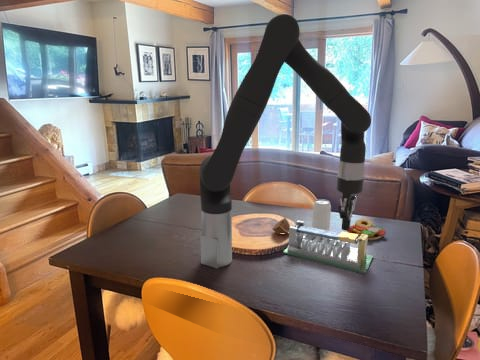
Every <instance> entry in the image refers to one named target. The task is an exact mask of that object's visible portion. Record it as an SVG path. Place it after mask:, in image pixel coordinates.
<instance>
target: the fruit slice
mask: <svg viewBox="0 0 480 360" xmlns="http://www.w3.org/2000/svg"><path fill="white" fill-rule="evenodd" d="M290 227H291V224H290V222H289V220H288V219H287V218H286V217H284V218H282V219H281V220H279V221H277V222H276V223H275V224H274V225H273V227H271V228H272V231H273V232H275V233H276V232H278V233H288V232H289V228H290ZM278 233H277V234H278ZM288 234H289V233H288Z"/></svg>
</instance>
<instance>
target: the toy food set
mask: <svg viewBox="0 0 480 360" xmlns="http://www.w3.org/2000/svg"><path fill="white" fill-rule="evenodd" d="M346 232H348V233H353V234H358V236H359V237H360V236H361V234H366V235H368V241H375V240H379V239H381V238H383V237H384V236H385V235H386V234H387V232H386V230H385V229H383V227H382V226H380V225H375V226H374V224H373V222H372V221H370V220H369V219H364V218H360V219H357V220H356V221H355V223H354V224H350V229H349V230H348V231H346Z"/></svg>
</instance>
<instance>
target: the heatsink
mask: <svg viewBox="0 0 480 360" xmlns="http://www.w3.org/2000/svg"><path fill="white" fill-rule="evenodd" d="M297 224H301V226H305V221H302V220H297V221H296V223H295V226H296V225H297ZM368 241H369V240H368V235H366V234H361V236H360V237H359V240H358V243H357V245H358V246H357V247H353V246H351V243H349V242H344V243H343V241H339V240H334V239H329V240H328V238H324V237H319V236H314V235H308V234H303V233H298V228H296V227H294V226H291V225H290V228H289V233H288V245H287V248H286V249H284V250H283V253H282V254H285V255H289V256H292V257H297V258H300V259H304V260H309V261H312V262H315V263H318V264H319V263H320V264H324V265H328V266H332V267H336V268H338V269H343V270H347V271H351V272H354V273H359V274H363V275H366V273H367V272H368V269H369V267H370V265H371V263H372V261H373V259H372V258H374V255H371V254H367V250H368Z"/></svg>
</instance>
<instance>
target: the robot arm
mask: <svg viewBox="0 0 480 360" xmlns="http://www.w3.org/2000/svg"><path fill="white" fill-rule="evenodd" d="M300 31H301V30H300V26H299V23H298V21H297V19H296V18H295V17H294V16H293V15H291V14H288V13H281V14H277V15H276V16H274V17H272V18H271V19H270V20H269V21H268V22H267V24H266V27H265V30H264V33H263V37H262V40H261V42H260V45H259V48H258V51H257V54H256V56H255V59H254V61H253V62H252V64H251V66H250V68H249V69H248V71H247V72H246V74H245V76H244V77H243V79H242V81H241V82H240V84H239V86H238V88H237V90H236V92H235V94H234V96H233V98H232V100H231V103H230V105H229V107H228V111H227V113H226V115H225V120H224V122H223V127H222V132H221V135H220V138H219V139H218V140H219V141H218V143H217V145H216V146H215V149H214V150H213V153H212V154H211V155H208V156H207V157H206V158H204V159H203V160H202V162H201V164H200V165H199V187H200V189H199V195H200V206H201V207H200V208H201V209H200V210H201V211H200V212H201V214H200V215H201V234H200V236H199V239H200V263H201V265H205V266H207V267H210V268H214V269H220V268H222V267H226V266H228V265H230V264H231V263H232V262H233V229H232V227H233V225H232V224H233V217H232V216H233V213H232V212H233V211H232V210H233V209H232V208H233V206H232V205H233V201H232V200H233V199H232V194H231V193H232V192H231V183H232V182H233V178H234V176H235V172H236V171H237V168H238V166H239V162H240V159H241V157H242V154H243V152H244V150H245V148H246V146H247V144H248V142H249V141H250V139H251V137H252V135H253V133H254V131H255V129H256V128H257V126H258V123H259V122H260V119H261V117H262V116H263V114H264V111H265V110H266V107H267V105H268V103H269V100H270V98H271V96H272V92H273V90H274V86H275V84H276V81H277V78H278V76H279V73H280V71H281V69H282V67H283V65H284V64H286V65H287V66H288V67H290V69H292V70H293V71H294V72H295V73H296V74H297V75H298V77H299V78H300V79H302V80H303V82H304V83H305V84H306V85H307V86H308V87H309V89H310V90H311V91H312V92H313V93H314V94H315V95H316V96H317V98H318V99H319V100H320V101H321V102H322V103H323V104H324V105H325V107H326V108H328V110H330V111H332V112H333V113H334V114H335V116H336V117H337V118H338V119H339V120H340V122H341V123H340V136H341V137H340V138H341V144H340V151H339V163H338V167H337V178H336V191H338V192H339V193H342V195H341V196H340V201H339V202H340V205H338V214H339V218H340V219H341V220H342V221H341V230H342V231H344V232H347V231H348V230H349V229H350V226H351V219H352V218H353V215H354V212H355V208H356V203H357V200H358V196H356V195H359V194H361V193H362V192H363V191H364V190H363V189H364V181H365V180H364V179H365V167H366V166H365V163H366V162H365V159H366V151H367V150H366V149H367V146H366V143H365V132H367V131H368V130H369V129H370V127H371V125H372V117H371V114H370V113H369V111H368V110H367V109H366V108H365V107H364V105H362V104H361V103H360V102H359V101H358V100H357V99H356V98H355V97H353V96H352V95H351V93H350V92H349V91H348V90H347V88H346V87H345V86H344V85H343V83H342V82H341V81H340V80H339V79H338V78H337V76H335V75H334V74H333V72H331V71H330V69H328V68H327V67H325V66H324V65H323V64H322V63H320V62H319V61H318V60H317V59H315V58H314V57H313V56H312V54H310V53H309V52H308V50H307V49H306V48H305V47H304V46H303V44H302V42H301V41H300V39H299V38H300Z"/></svg>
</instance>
